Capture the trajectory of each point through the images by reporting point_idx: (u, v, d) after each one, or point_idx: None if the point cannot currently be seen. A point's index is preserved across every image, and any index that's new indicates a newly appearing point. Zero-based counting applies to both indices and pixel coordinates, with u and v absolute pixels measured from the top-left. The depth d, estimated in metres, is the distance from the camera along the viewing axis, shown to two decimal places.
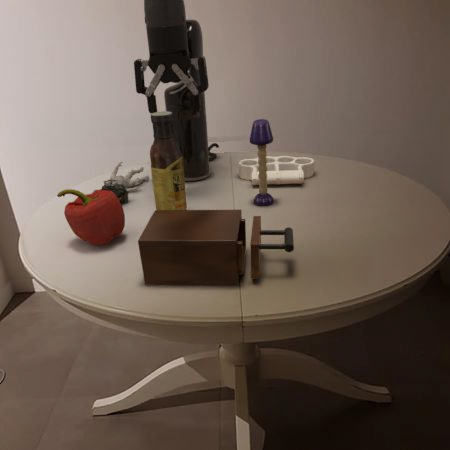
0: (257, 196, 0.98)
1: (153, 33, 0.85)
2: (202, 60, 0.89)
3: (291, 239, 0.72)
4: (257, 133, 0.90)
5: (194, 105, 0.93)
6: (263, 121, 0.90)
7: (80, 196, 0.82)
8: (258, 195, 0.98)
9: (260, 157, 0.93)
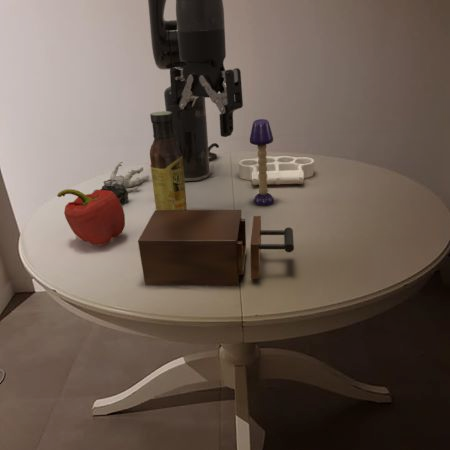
0: (257, 196, 0.98)
1: (179, 39, 0.74)
2: (229, 73, 0.73)
3: (291, 239, 0.72)
4: (257, 133, 0.90)
5: (221, 125, 0.78)
6: (263, 121, 0.90)
7: (80, 196, 0.82)
8: (258, 195, 0.98)
9: (260, 157, 0.93)
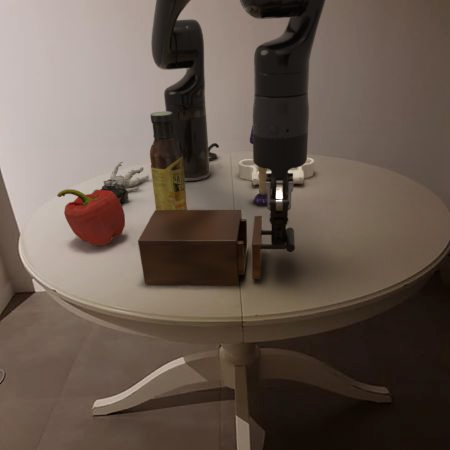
0: (257, 196, 0.98)
1: None
2: (270, 205, 0.64)
3: (292, 239, 0.72)
4: None
5: (271, 233, 0.72)
6: None
7: (80, 196, 0.82)
8: (258, 195, 0.98)
9: None
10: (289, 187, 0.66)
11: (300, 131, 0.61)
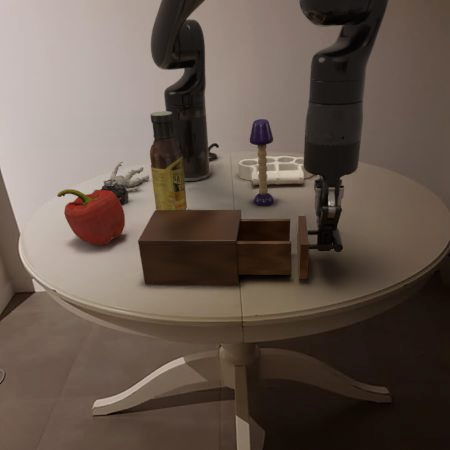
0: (257, 196, 0.98)
1: None
2: (322, 212, 0.64)
3: (339, 239, 0.71)
4: (257, 133, 0.90)
5: (317, 239, 0.72)
6: (263, 121, 0.90)
7: (80, 196, 0.82)
8: (258, 195, 0.98)
9: (260, 157, 0.93)
10: (339, 194, 0.66)
11: (355, 138, 0.61)
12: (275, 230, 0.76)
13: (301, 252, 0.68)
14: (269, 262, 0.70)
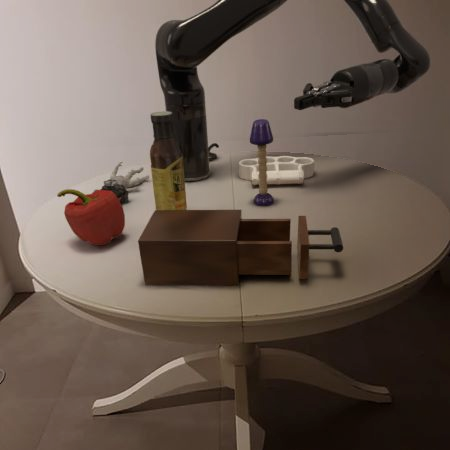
0: (257, 196, 0.98)
1: None
2: (349, 92, 0.92)
3: (340, 239, 0.71)
4: (257, 133, 0.90)
5: (304, 96, 0.93)
6: (263, 121, 0.90)
7: (80, 196, 0.82)
8: (258, 195, 0.98)
9: (260, 157, 0.93)
10: None
11: (365, 99, 1.00)
12: (275, 230, 0.76)
13: (301, 252, 0.68)
14: (269, 262, 0.70)
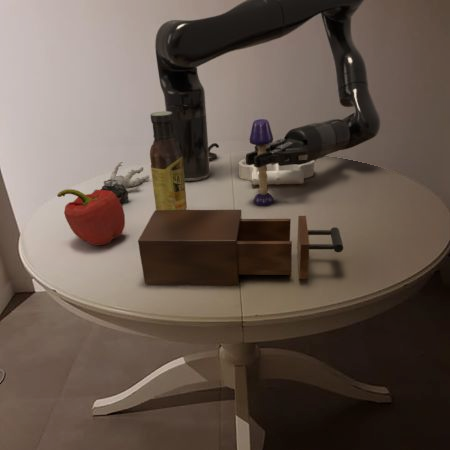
0: (257, 196, 0.98)
1: None
2: (305, 150, 0.93)
3: (340, 239, 0.71)
4: (257, 133, 0.90)
5: (262, 154, 0.92)
6: (263, 121, 0.90)
7: (80, 196, 0.82)
8: (258, 195, 0.98)
9: None
10: None
11: (319, 157, 1.01)
12: (275, 230, 0.76)
13: (301, 252, 0.68)
14: (269, 262, 0.70)
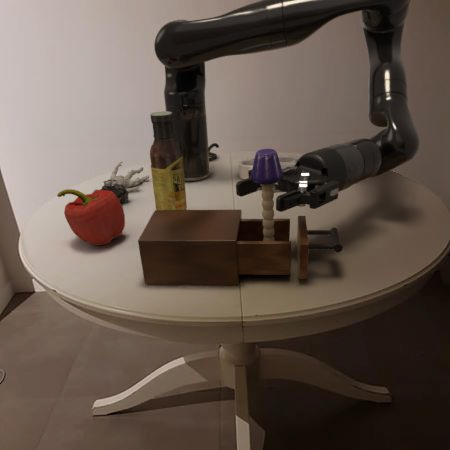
0: None
1: None
2: (336, 182, 0.68)
3: (339, 239, 0.71)
4: (262, 169, 0.65)
5: (287, 193, 0.66)
6: (269, 152, 0.65)
7: (80, 196, 0.82)
8: None
9: (265, 199, 0.69)
10: None
11: (341, 189, 0.76)
12: (275, 230, 0.76)
13: (301, 252, 0.68)
14: (268, 262, 0.70)
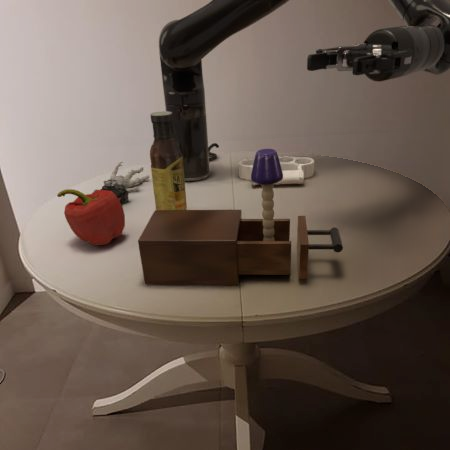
0: None
1: None
2: (410, 50, 0.69)
3: (339, 239, 0.71)
4: (262, 169, 0.65)
5: (364, 56, 0.66)
6: (269, 152, 0.65)
7: (80, 196, 0.82)
8: None
9: (265, 199, 0.69)
10: None
11: (407, 71, 0.77)
12: (275, 230, 0.76)
13: (301, 252, 0.68)
14: (268, 262, 0.70)
